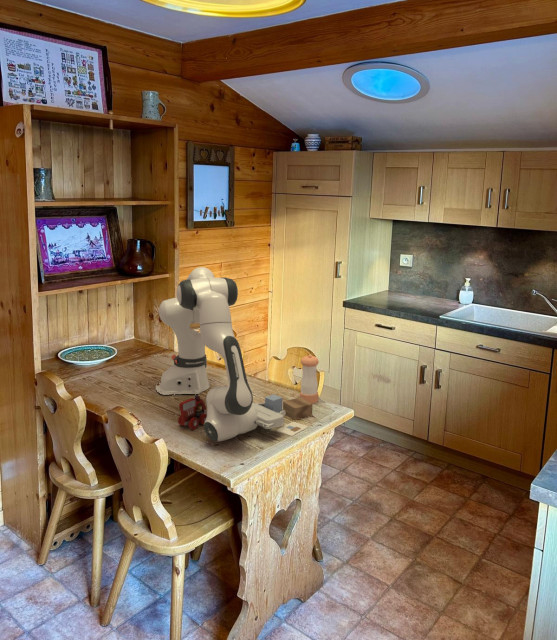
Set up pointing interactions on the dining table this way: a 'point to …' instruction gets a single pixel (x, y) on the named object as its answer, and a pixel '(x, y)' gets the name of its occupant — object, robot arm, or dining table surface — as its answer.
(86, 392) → the dining table surface
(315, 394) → the pepper shaker
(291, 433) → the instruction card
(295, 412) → the walnut block
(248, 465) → the dining table surface
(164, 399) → the dining table surface
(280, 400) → the gray brick
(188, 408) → the toy fire truck
